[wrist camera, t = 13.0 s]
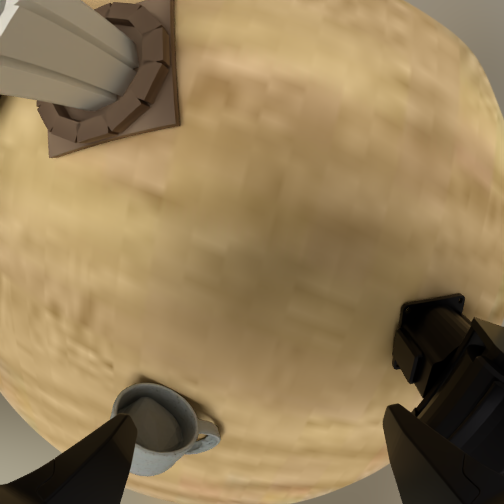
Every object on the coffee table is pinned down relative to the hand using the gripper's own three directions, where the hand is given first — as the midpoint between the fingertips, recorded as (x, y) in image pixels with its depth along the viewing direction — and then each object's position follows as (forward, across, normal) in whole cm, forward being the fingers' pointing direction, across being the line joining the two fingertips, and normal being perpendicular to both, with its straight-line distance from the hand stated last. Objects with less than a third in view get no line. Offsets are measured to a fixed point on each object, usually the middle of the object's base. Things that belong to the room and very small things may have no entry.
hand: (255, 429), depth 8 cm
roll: (+12, +10, -17) cm, 23 cm away
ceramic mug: (+13, +10, +14) cm, 22 cm away
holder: (+13, +10, -17) cm, 24 cm away
